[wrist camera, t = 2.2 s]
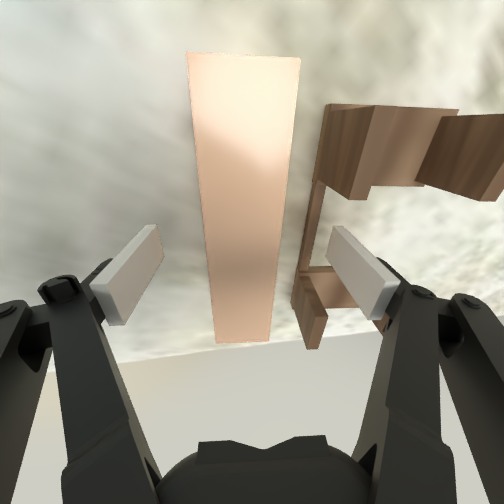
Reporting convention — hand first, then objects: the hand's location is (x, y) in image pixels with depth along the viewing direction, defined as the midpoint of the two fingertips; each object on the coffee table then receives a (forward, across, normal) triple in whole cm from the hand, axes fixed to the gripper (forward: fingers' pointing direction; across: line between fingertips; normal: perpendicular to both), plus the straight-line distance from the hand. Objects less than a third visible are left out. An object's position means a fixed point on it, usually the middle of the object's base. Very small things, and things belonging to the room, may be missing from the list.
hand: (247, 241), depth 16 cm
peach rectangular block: (+6, 0, 0) cm, 6 cm away
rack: (+6, +12, -2) cm, 13 cm away
